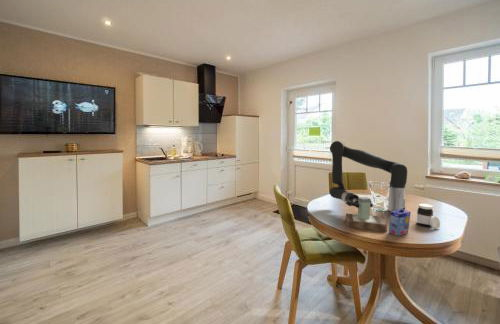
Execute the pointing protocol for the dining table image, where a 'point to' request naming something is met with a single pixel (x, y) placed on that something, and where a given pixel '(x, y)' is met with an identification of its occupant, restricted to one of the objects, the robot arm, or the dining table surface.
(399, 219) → the ink cartridge box
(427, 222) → the spread jar
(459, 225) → the dining table surface
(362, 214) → the block
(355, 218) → the dock
